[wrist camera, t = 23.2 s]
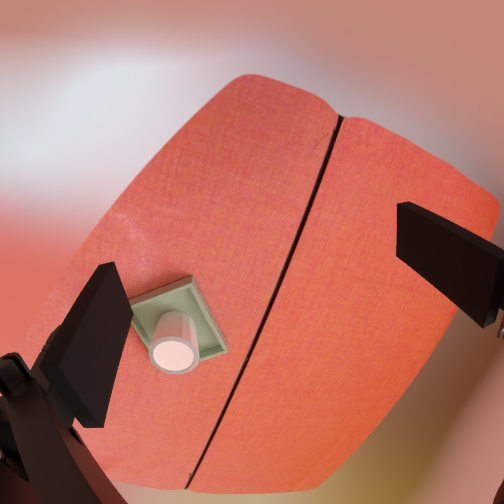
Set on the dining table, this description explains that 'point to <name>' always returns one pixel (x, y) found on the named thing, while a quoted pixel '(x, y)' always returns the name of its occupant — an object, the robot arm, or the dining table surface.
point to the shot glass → (174, 344)
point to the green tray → (184, 300)
